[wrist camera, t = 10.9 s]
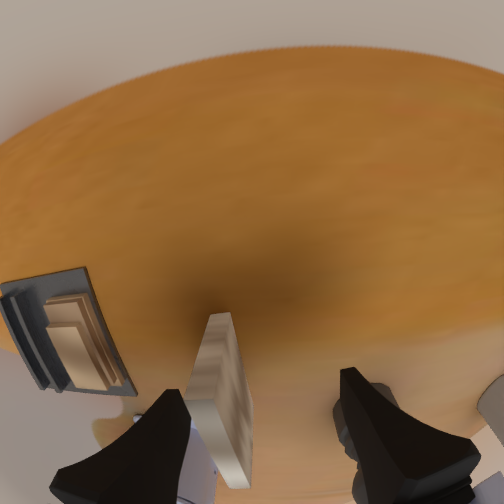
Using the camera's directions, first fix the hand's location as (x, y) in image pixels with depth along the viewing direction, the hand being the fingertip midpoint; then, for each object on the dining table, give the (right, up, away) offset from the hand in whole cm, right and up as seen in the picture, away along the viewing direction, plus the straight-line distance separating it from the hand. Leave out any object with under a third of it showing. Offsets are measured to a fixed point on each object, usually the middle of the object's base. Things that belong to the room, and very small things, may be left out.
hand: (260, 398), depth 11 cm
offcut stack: (-15, -1, +10) cm, 18 cm away
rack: (-19, -2, +11) cm, 22 cm away
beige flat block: (-2, -3, +11) cm, 11 cm away
